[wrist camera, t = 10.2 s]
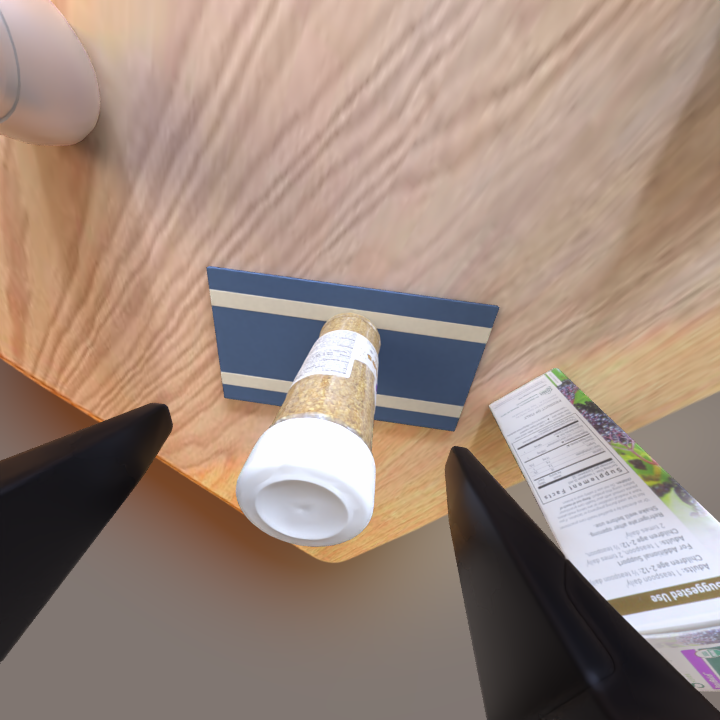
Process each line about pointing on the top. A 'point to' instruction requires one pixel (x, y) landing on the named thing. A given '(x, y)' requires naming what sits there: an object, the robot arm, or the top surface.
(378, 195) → the top surface
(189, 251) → the top surface
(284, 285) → the tea towel
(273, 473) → the sprinkles bottle
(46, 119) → the silver water bottle
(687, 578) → the syrup box
